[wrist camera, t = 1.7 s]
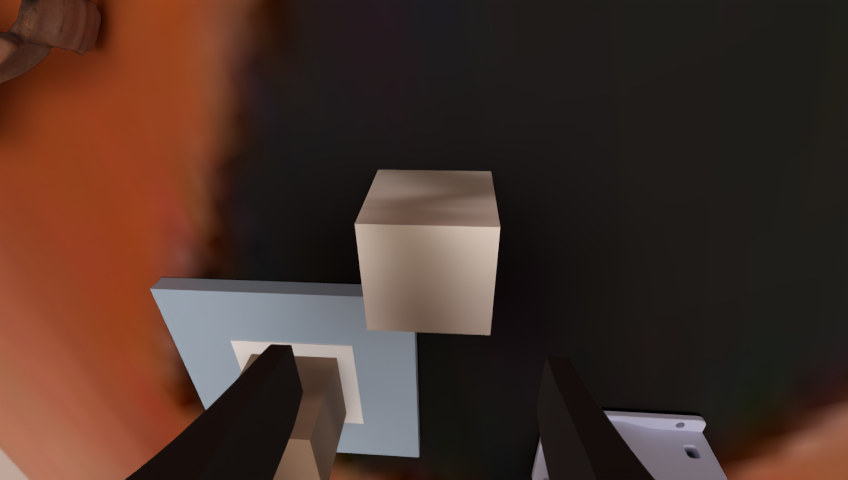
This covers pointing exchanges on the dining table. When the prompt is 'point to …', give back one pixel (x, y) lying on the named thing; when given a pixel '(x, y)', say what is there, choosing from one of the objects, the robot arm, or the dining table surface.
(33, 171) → the dining table surface
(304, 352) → the blueprint board
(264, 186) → the dining table surface
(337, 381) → the walnut cube
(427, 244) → the ivory cube
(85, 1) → the dark brown curved piece
